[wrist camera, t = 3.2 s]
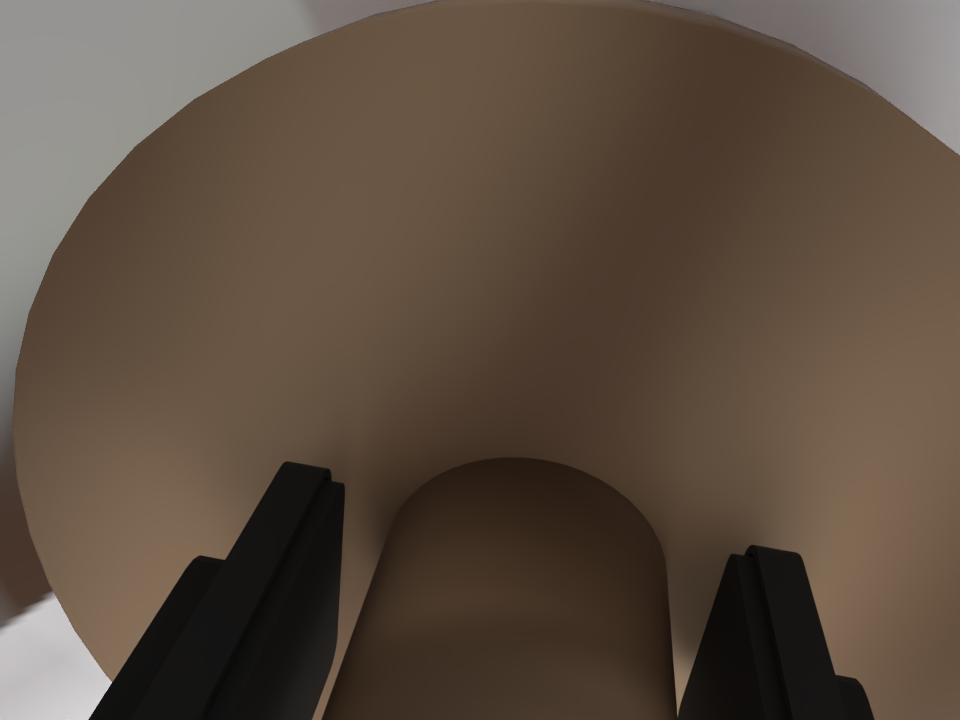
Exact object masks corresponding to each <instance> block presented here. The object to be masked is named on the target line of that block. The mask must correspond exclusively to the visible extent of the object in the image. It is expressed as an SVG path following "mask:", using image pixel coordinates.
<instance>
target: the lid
mask: <svg viewBox="0 0 960 720" xmlns="http://www.w3.org/2000/svg"><path fill="white" fill-rule="evenodd" d="M15 378H16V379H15V393H14V409H13V425H12V428H13V438H14V450H15V461H16V471H17V482H18V486H19V490H20V494H21V498H22V503H23V507H24V511H25V515H26V519H27V523H28V527H29V532H30V535H31V538H32V540H33V543H34V545H35V548H36V551H37V553H38V556H39V558H40V561H41V563H42V566H43V569H44V571H45V573H46V576H47V579H48V581H49V584H50V586H51V588H52V589H53V591H54V593H55V595H56V597H57V599H58V601H59V602H60V604H61V606H62V608H63V610H64V612H65V613H66V615H67V617H68V619H69V621H70V623H71V625H72V626H73V628H74V630H75V632H76V633H77V635H78V636H79V637H80V639H81V640H82V642H83V643H84V645H85V646H86V647H87V649H88V650H89V652H90V653H91V654H92V656H93V657H94V659H95V660H96V662H97V663H98V664H99V666H100V667H101V669H102V670H103V672H104V673H105V674H106V676H107V677H108V678H109V679H110V680H111V681H112V682H113V681H114V679H115V678H116V676H117V675H118V673H119V671H120V670H121V668H122V667H123V665H124V664H125V662H126V661H127V659H128V657H129V656H130V654H131V653H132V651H133V650H134V648H135V647H136V645H137V643H138V642H139V640H140V639H141V637H142V636H143V634H144V633H145V631H146V630H147V628H148V626H149V625H150V623H151V622H152V620H153V619H154V617H155V616H156V614H157V612H158V611H159V609H160V608H161V606H162V605H163V603H164V602H165V600H166V598H167V597H168V595H169V594H170V592H171V591H172V589H173V588H174V586H175V584H176V583H177V581H178V580H179V578H180V577H181V575H182V574H183V572H184V570H185V569H186V568H187V566H188V565H189V564H190V563H191V561H192V560H193V559H194V558H196V557H198V556H199V555H202V556H207V557H212V558H218V559H223V560H225V559H226V557H227V556H228V554H229V552H230V551H231V549H232V547H233V546H234V544H235V542H236V541H237V539H238V537H239V536H240V534H241V532H242V530H243V529H244V527H245V525H246V524H247V522H248V520H249V519H250V517H251V515H252V514H253V512H254V510H255V509H256V507H257V505H258V503H259V502H260V500H261V498H262V497H263V495H264V493H265V492H266V490H267V488H268V487H269V485H270V483H271V482H272V480H273V478H274V476H275V475H276V473H277V471H278V470H279V468H280V467H281V465H282V464H283V463H284V462H286V461H289V462H295V463H301V464H306V465H312V466H317V467H323V468H328V469H330V470H331V475H332V481H334V482H340V483H343V484H344V485H345V505H344V523H343V542H342V561H341V580H340V599H339V618H338V637H337V646H336V651H335V656H334V660H333V664H332V667H331V670H330V673H329V675H328V678H327V681H326V683H325V686H324V689H323V692H322V694H321V697H320V700H319V702H318V705H317V708H316V710H315V713H314V716H313V719H312V720H678V712H679V708H680V704H681V701H682V698H683V695H684V691H685V688H686V685H687V682H688V679H689V676H690V673H691V670H692V667H693V664H694V661H695V658H696V655H697V652H698V649H699V646H700V643H701V639H702V636H703V633H704V630H705V627H706V624H707V621H708V618H709V615H710V612H711V609H712V606H713V603H714V600H715V597H716V594H717V591H718V588H719V584H720V581H721V578H722V575H723V572H724V569H725V566H726V563H727V561H728V558H729V556H730V555H731V554H739V555H744V554H745V552H746V550H747V548H748V547H749V546H750V545H758V546H763V547H769V548H774V549H780V550H786V551H791V552H797V553H799V554H800V555H801V557H802V559H803V562H804V565H805V569H806V572H807V576H808V579H809V583H810V586H811V590H812V593H813V597H814V600H815V604H816V608H817V611H818V615H819V618H820V622H821V625H822V629H823V632H824V636H825V639H826V643H827V647H828V650H829V654H830V657H831V661H832V664H833V668H834V671H835V675H840V676H846V677H851V678H856V679H857V680H858V681H859V682H860V683H861V684H862V686H863V688H864V690H865V693H866V695H867V697H868V700H869V703H870V707H871V710H872V713H873V716H874V719H875V720H960V156H959V155H958V154H957V153H955V152H954V151H953V150H952V149H950V148H949V147H948V146H946V145H945V144H944V143H942V142H941V141H940V140H938V139H937V138H936V137H934V136H933V135H932V134H931V133H929V132H928V131H927V130H925V129H924V128H923V127H921V126H920V125H919V124H917V123H916V122H915V121H913V120H912V119H911V118H910V117H908V116H907V115H906V114H904V113H903V112H902V111H900V110H899V109H898V108H896V107H895V106H894V105H892V104H891V103H890V102H888V101H887V100H886V99H884V98H883V97H882V96H880V95H879V94H878V93H876V92H875V91H873V90H872V89H871V88H869V87H868V86H867V85H865V84H863V83H862V82H860V81H858V80H856V79H854V78H852V77H851V76H849V75H847V74H845V73H843V72H841V71H840V70H838V69H836V68H834V67H832V66H830V65H829V64H827V63H825V62H823V61H821V60H819V59H818V58H816V57H814V56H812V55H810V54H808V53H807V52H805V51H803V50H801V49H799V48H797V47H796V46H794V45H792V44H789V43H786V42H784V41H781V40H778V39H776V38H773V37H770V36H767V35H765V34H762V33H759V32H757V31H754V30H751V29H748V28H746V27H743V26H740V25H738V24H735V23H732V22H729V21H727V20H724V19H721V18H719V17H716V16H713V15H710V14H705V13H701V12H696V11H691V10H687V9H682V8H677V7H673V6H668V5H663V4H658V3H654V2H649V1H644V0H439V1H434V2H430V3H425V4H421V5H416V6H411V7H407V8H402V9H398V10H393V11H389V12H384V13H380V14H375V15H373V16H370V17H368V18H365V19H362V20H360V21H357V22H354V23H352V24H349V25H346V26H344V27H341V28H339V29H336V30H333V31H331V32H328V33H325V34H323V35H320V36H318V37H315V38H312V39H310V40H308V41H304V42H302V43H300V44H298V45H296V46H293V47H291V48H289V49H287V50H284V51H282V52H280V53H278V54H276V55H274V56H271V57H269V58H267V59H265V60H263V61H261V62H259V63H258V64H256V65H254V66H252V67H250V68H249V69H247V70H245V71H243V72H242V73H240V74H238V75H237V76H235V77H233V78H231V79H229V80H228V81H226V82H224V83H222V84H220V85H219V86H217V87H215V88H213V89H212V90H210V91H208V92H206V93H205V94H203V95H201V96H199V97H198V98H196V99H194V100H193V101H192V102H190V103H189V104H188V105H187V106H185V107H184V108H183V109H182V110H180V111H179V112H178V113H177V114H175V115H174V116H173V117H172V118H170V119H169V120H168V121H167V122H165V123H164V124H163V125H162V126H160V127H159V128H158V129H157V130H155V131H154V132H153V133H152V134H150V135H149V136H148V137H147V138H145V139H144V140H143V141H142V142H140V143H139V144H138V145H137V146H135V147H134V149H133V150H132V151H131V152H130V153H129V154H128V155H127V156H126V158H125V159H124V160H123V161H122V162H121V163H120V164H119V165H118V166H117V167H116V169H115V170H114V171H113V172H112V173H111V174H110V175H109V176H108V177H107V179H106V180H105V181H104V182H103V183H102V184H101V185H100V186H99V187H98V189H97V190H96V191H95V192H94V193H93V194H92V195H91V196H90V198H89V199H88V200H87V202H86V203H85V205H84V206H83V208H82V210H81V211H80V213H79V214H78V216H77V217H76V219H75V221H74V222H73V224H72V225H71V227H70V229H69V230H68V232H67V234H66V235H65V237H64V238H63V240H62V241H61V243H60V244H59V246H58V248H57V249H56V251H55V252H54V254H53V256H52V258H51V261H50V263H49V266H48V268H47V271H46V273H45V275H44V278H43V280H42V282H41V285H40V287H39V290H38V292H37V294H36V297H35V299H34V302H33V304H32V307H31V309H30V311H29V315H28V320H27V324H26V328H25V333H24V337H23V341H22V346H21V350H20V355H19V359H18V363H17V367H16V377H15Z"/></svg>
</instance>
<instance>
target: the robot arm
mask: <svg viewBox="0 0 960 720" xmlns="http://www.w3.org/2000/svg"><path fill="white" fill-rule="evenodd" d="M344 505H345V485H344V484H343V483H340V482H334V481H332V475H331V470H330V469H328V468H323V467H317V466H312V465H306V464H301V463H295V462H289V461H286V462H284V463H283V464H282V465H281V467H280V468H279V470H278V471H277V473H276V475H275V476H274V478H273V480H272V482H271V483H270V485H269V487H268V488H267V490H266V492H265V493H264V495H263V497H262V498H261V500H260V502H259V503H258V505H257V507H256V509H255V510H254V512H253V514H252V515H251V517H250V519H249V520H248V522H247V524H246V525H245V527H244V529H243V530H242V532H241V534H240V536H239V537H238V539H237V541H236V542H235V544H234V546H233V547H232V549H231V551H230V552H229V554H228V556H227V557H226V559H225V560H223V559H218V558H212V557H207V556H202V555H199V556H198V557H196V558H194V559H193V560H192V561H191V563H190V564H189V565H188V566H187V568H186V569H185V570H184V572H183V574H182V575H181V577H180V578H179V580H178V581H177V583H176V584H175V586H174V588H173V589H172V591H171V592H170V594H169V595H168V597H167V598H166V600H165V602H164V603H163V605H162V606H161V608H160V609H159V611H158V612H157V614H156V616H155V617H154V619H153V620H152V622H151V623H150V625H149V626H148V628H147V630H146V631H145V633H144V634H143V636H142V637H141V639H140V640H139V642H138V643H137V645H136V647H135V648H134V650H133V651H132V653H131V654H130V656H129V657H128V659H127V661H126V662H125V664H124V665H123V667H122V668H121V670H120V671H119V673H118V675H117V676H116V678H115V679H114V681H113V682H112V684H111V685H110V687H109V689H108V690H107V692H106V693H105V695H104V696H103V698H102V699H101V701H100V703H99V704H98V706H97V707H96V709H95V710H94V712H93V713H92V715H91V716H90V718H89V720H312V719H313V716H314V713H315V710H316V708H317V705H318V702H319V700H320V697H321V694H322V692H323V689H324V686H325V683H326V681H327V678H328V675H329V673H330V670H331V667H332V664H333V660H334V656H335V651H336V646H337V637H338V618H339V599H340V580H341V561H342V542H343V523H344ZM678 720H875V719H874V716H873V713H872V710H871V707H870V703H869V700H868V697H867V695H866V693H865V690H864V688H863V686H862V684H861V683H860V682H859V681H858V680H857V679H856V678H851V677H846V676H840V675H835V671H834V668H833V664H832V661H831V657H830V654H829V650H828V647H827V643H826V639H825V636H824V632H823V629H822V625H821V622H820V618H819V615H818V611H817V608H816V604H815V600H814V597H813V593H812V590H811V586H810V583H809V579H808V576H807V572H806V569H805V565H804V562H803V559H802V557H801V555H800V554H799V553H797V552H791V551H786V550H780V549H774V548H769V547H763V546H758V545H750V546H749V547H748V548H747V550H746V552H745V554H744V555H739V554H731V555H730V556H729V558H728V561H727V563H726V566H725V569H724V572H723V575H722V578H721V581H720V584H719V588H718V591H717V594H716V597H715V600H714V603H713V606H712V609H711V612H710V615H709V618H708V621H707V624H706V627H705V630H704V633H703V636H702V639H701V643H700V646H699V649H698V652H697V655H696V658H695V661H694V664H693V667H692V670H691V673H690V676H689V679H688V682H687V685H686V688H685V691H684V695H683V698H682V701H681V704H680V708H679V712H678Z"/></svg>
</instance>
